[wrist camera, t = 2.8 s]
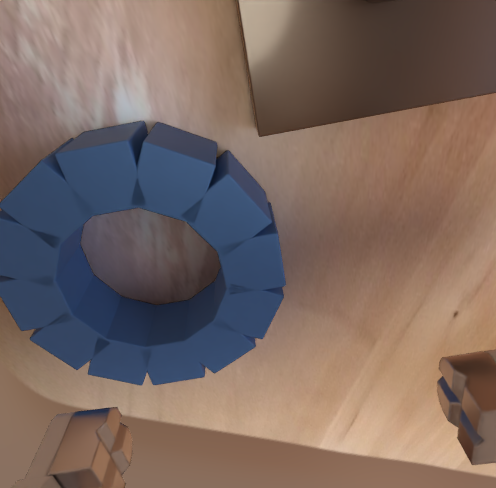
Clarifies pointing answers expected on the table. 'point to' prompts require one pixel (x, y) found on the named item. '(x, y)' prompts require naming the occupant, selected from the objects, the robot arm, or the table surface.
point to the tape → (106, 299)
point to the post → (362, 57)
